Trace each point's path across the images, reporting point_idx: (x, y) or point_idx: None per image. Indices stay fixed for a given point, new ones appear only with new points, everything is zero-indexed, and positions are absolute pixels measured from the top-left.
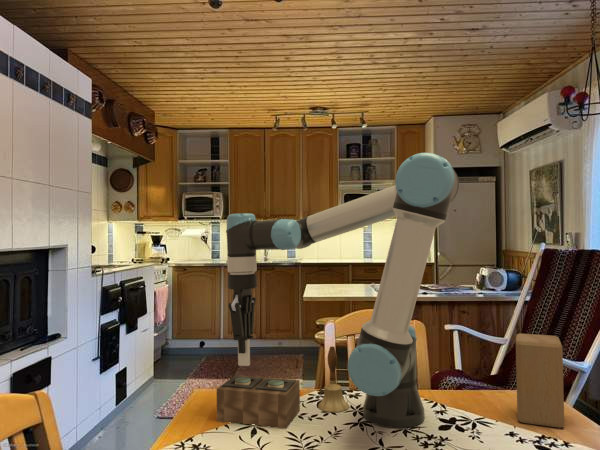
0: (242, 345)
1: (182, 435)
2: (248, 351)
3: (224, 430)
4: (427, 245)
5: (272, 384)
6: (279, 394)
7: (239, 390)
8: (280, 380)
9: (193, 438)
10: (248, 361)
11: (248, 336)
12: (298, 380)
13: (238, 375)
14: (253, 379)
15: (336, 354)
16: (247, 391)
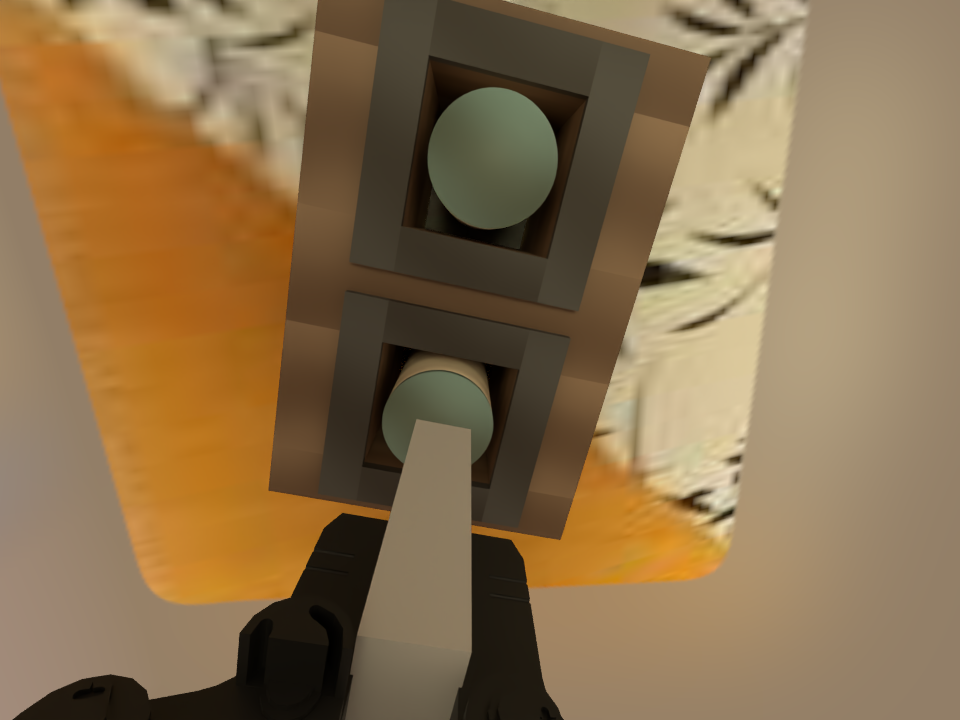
0: (530, 642)
1: (659, 534)
2: (445, 506)
3: (623, 400)
4: None
5: (552, 183)
6: (691, 114)
7: (591, 408)
8: (445, 123)
9: (688, 492)
10: (455, 445)
11: (342, 707)
12: None
13: (270, 473)
14: (380, 355)
15: None
16: (616, 354)
